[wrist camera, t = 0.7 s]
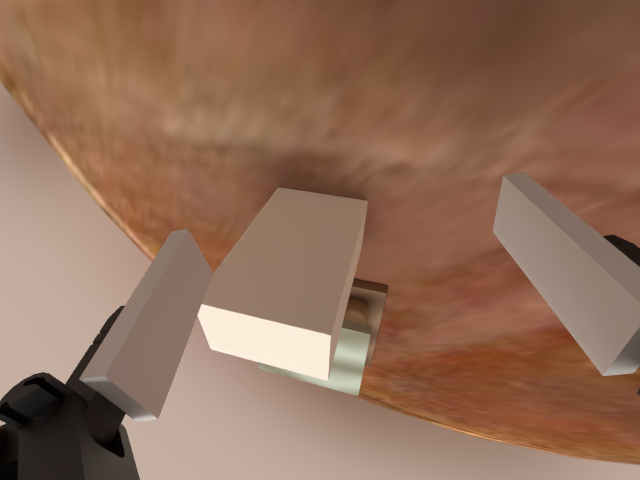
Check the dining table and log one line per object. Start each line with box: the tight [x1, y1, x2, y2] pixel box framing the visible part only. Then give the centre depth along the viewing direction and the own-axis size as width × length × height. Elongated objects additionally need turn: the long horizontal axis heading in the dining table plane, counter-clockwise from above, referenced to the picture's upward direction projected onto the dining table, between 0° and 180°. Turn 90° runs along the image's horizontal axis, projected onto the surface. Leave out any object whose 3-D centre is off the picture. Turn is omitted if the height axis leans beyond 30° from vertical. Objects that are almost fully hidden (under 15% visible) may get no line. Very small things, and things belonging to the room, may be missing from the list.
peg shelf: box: [258, 279, 388, 396], centre depth 39 cm, size 16×16×6 cm
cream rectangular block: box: [198, 187, 368, 381], centre depth 26 cm, size 6×9×15 cm, turn 90°
